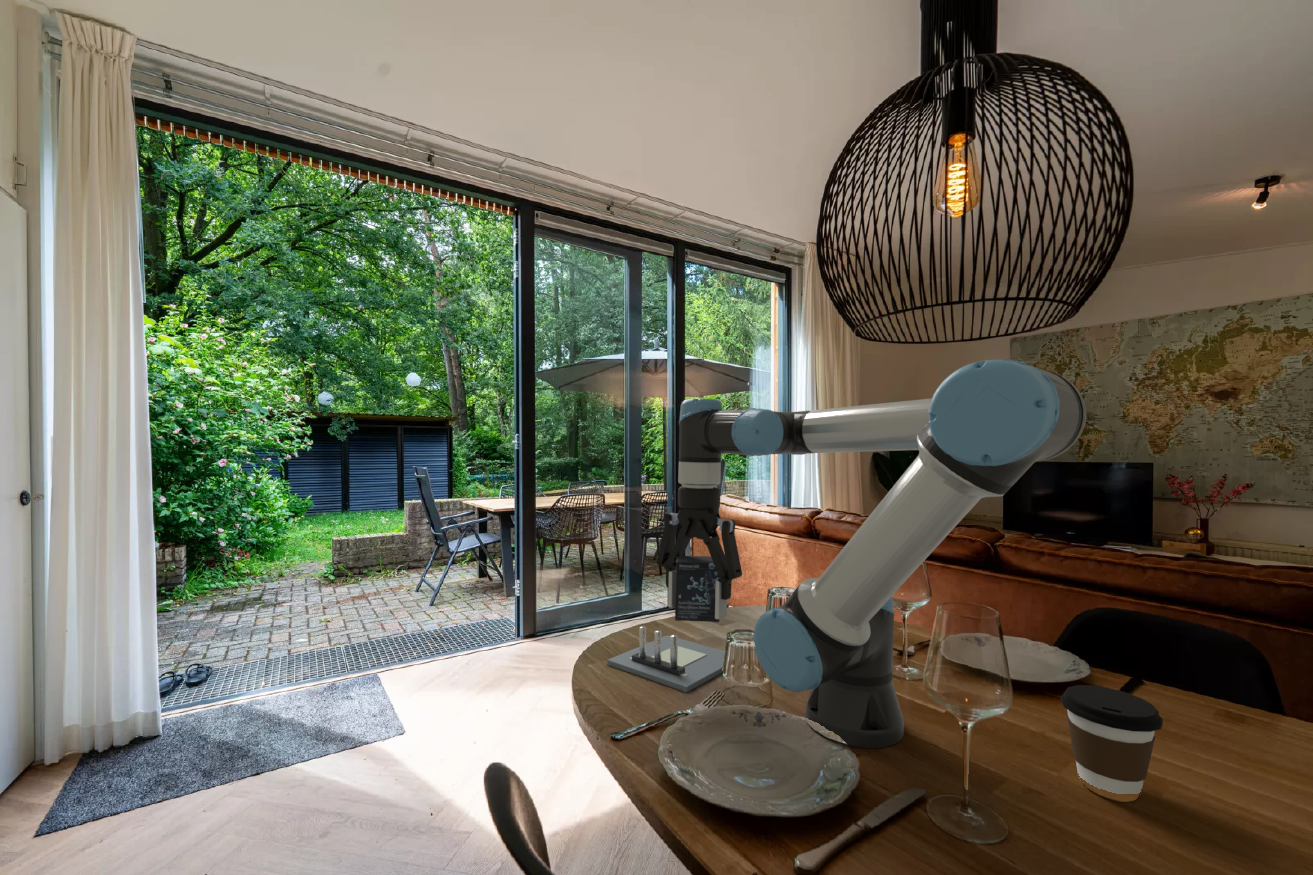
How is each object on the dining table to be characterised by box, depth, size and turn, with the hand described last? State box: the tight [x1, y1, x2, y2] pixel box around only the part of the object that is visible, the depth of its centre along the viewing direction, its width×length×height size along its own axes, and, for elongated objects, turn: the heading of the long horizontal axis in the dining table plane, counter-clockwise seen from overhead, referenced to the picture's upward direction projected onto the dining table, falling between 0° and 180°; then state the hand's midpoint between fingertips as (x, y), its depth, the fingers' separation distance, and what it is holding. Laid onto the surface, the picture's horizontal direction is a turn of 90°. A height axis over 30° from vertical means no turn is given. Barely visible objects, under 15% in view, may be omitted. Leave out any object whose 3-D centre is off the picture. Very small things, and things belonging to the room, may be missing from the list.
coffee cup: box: [1060, 684, 1164, 794], centre depth 79 cm, size 11×11×12 cm
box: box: [674, 555, 720, 623], centre depth 105 cm, size 8×6×11 cm
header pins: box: [632, 625, 685, 676], centre depth 117 cm, size 12×2×7 cm, turn 51°
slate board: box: [606, 634, 726, 693], centre depth 122 cm, size 20×20×1 cm
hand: (696, 611), depth 105 cm, fingers closed on box, 9 cm apart
